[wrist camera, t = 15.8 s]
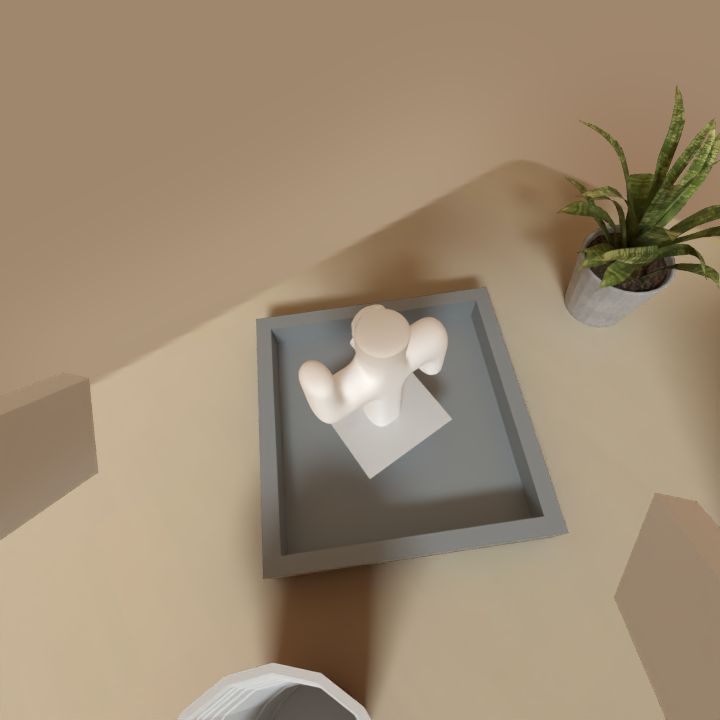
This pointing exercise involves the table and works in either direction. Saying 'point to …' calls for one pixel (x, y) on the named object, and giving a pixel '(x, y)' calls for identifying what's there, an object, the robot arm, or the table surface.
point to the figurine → (381, 387)
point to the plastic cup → (275, 697)
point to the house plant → (641, 230)
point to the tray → (413, 469)
